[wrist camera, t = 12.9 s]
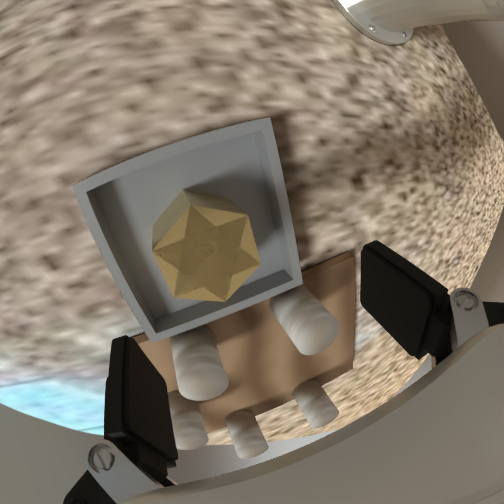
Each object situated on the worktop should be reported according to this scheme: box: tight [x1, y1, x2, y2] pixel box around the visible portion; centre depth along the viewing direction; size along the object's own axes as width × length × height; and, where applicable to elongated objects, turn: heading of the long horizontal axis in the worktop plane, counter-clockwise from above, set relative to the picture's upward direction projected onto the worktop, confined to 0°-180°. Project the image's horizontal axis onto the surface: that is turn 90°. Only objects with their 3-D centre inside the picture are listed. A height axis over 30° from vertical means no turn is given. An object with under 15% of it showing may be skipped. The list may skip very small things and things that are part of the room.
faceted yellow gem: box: [152, 189, 261, 302], centre depth 19 cm, size 7×6×5 cm
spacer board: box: [133, 252, 355, 458], centre depth 27 cm, size 26×21×7 cm
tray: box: [72, 117, 303, 343], centre depth 20 cm, size 14×14×3 cm
